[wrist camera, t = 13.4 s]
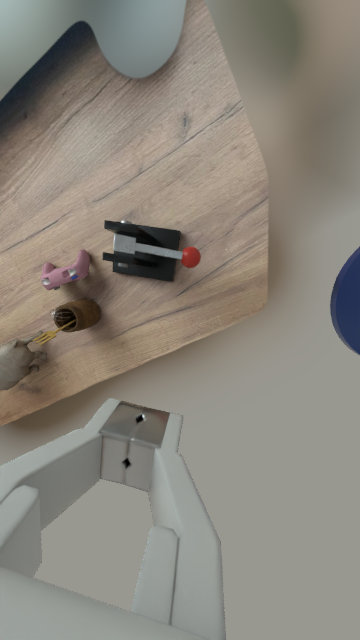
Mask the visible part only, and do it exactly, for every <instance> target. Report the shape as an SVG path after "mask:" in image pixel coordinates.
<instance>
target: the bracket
mask: <svg viewBox="0 0 360 640" xmlns="http://www.w3.org/2000/svg"><path fill="white" fill-rule="evenodd" d="M104 228H105V229H107V230H109V231H111V232H114V233H115V234H120V235H125V236H129V237H134V238H136V243H140V244H145V245H150V246H155V247H160V248H165V249H170V250H175V251H178V247H179V240H180V233H181V232H180V231H177V230H170V229H163V228H156V227H149V226H142V225H135V224H132V223H131V222H128V221H121V222H113V221H106V220H105V225H104ZM103 260H106V261H112V262H113V272H118V273H124V274H129V275H135V276H141V277H147V278H153V279H159V280H164V281H170V282H173V281H174V274H175V267H176V260H177V259H175V258H169V257H164V256H158V255H153V254H148V253H142V252H137V251H135V254H134V255H130V254H125V253H119V252H114V254H111V253H105V252H103Z"/></svg>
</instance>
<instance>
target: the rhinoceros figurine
mask: <svg viewBox="0 0 360 640" xmlns="http://www.w3.org/2000/svg"><path fill="white" fill-rule="evenodd" d="M42 334H44V333H42V332H41V331H40V332H39V333H37V334H36V335H35V336H32V337H28V338H25V339H22V340H17V339H15V340H13V341H12V342H10V343H6V344H3V345H1V346H0V390H8V389H10V388H12V387H14V386H15V385H16V384H17V383H18V382H19V380H21V379H23V378H24V377H25V376H26V375H28V374H29V373H31V372H32V371H33V370H34V371H38V365H37V366H36V365H32V366H30V367H29V364H30V363H31V362H32V361H33V360H34V359H35V358H38V359H42V360H44V359H47V356H46V354H45V353H43V352H40V351H36V352H31V351H30V350H29V348H28V347H27V344H28V343H29V342H32V341H33V340H34V339H35V338H37V337H39V336H41V335H42ZM42 338H44V337H41V338H40V339H42Z"/></svg>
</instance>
